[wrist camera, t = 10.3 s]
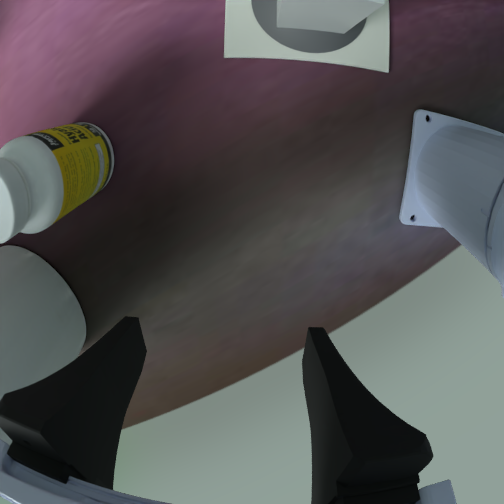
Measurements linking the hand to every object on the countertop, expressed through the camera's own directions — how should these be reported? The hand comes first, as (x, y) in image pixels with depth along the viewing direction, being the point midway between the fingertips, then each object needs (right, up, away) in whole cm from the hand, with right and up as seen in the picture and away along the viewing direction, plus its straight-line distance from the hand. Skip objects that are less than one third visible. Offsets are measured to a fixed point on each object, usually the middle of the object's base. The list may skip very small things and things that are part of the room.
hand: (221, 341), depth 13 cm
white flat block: (+5, +19, +1) cm, 19 cm away
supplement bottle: (-10, +10, +6) cm, 16 cm away
